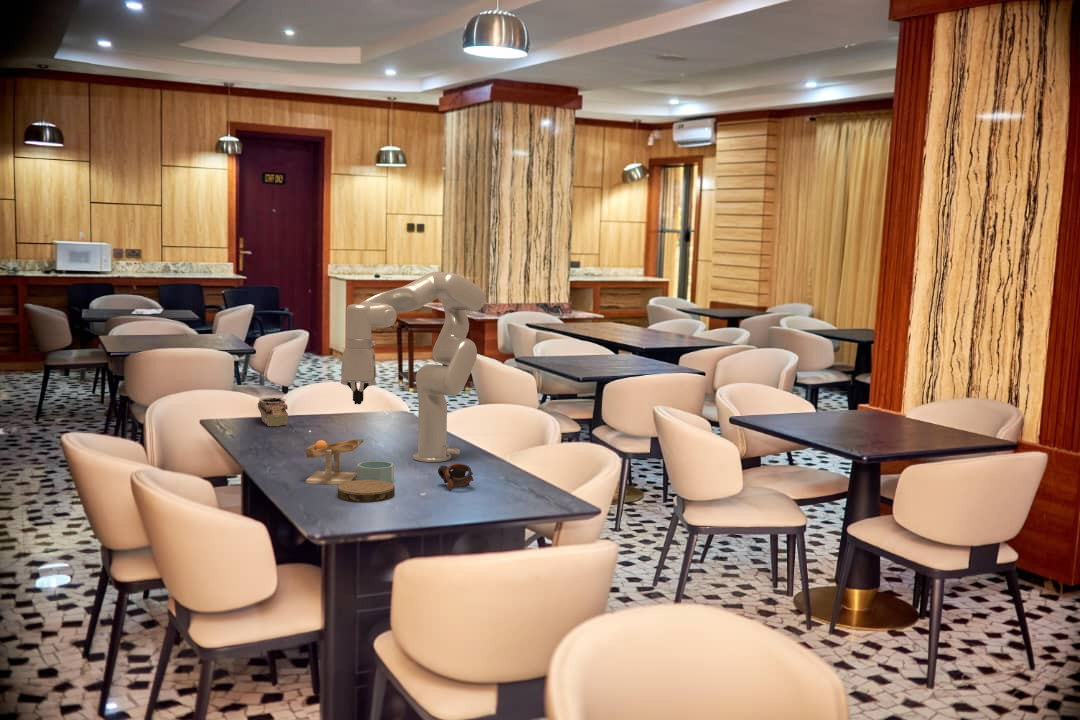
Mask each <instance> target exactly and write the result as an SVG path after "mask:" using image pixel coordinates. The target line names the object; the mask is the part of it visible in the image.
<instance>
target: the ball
mask: <svg viewBox="0 0 1080 720" xmlns="http://www.w3.org/2000/svg"><path fill="white" fill-rule="evenodd" d="M314 444H315V448H316V450H318V449H324V448H327V445H328V443H327V442H326V441H325V440H323V439H320V440H318V441H316V442H315V443H314Z"/></svg>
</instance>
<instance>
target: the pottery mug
mask: <svg viewBox="0 0 1080 720" xmlns="http://www.w3.org/2000/svg"><path fill="white" fill-rule="evenodd" d="M467 472H468V473H467ZM437 473H438V475H439V477H440V478H441V479H442V480H443V482H444V484H446V490H448V491H452V490H453V489H456V488H461V487H465V486H466V485H467V486H470V483H471V482H474V480H475V479H474V478H473V475H474V473H473V471H472V469H471V467H470V466H469V465H468V464H464V463H461V462H459V463H458V462H455V463H453V464H450V465H449V466H446V465H440V466H439V467H438V468H437ZM466 473H467V474H466Z"/></svg>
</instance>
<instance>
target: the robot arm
mask: <svg viewBox="0 0 1080 720" xmlns="http://www.w3.org/2000/svg"><path fill="white" fill-rule="evenodd" d="M438 299H440V301H441V302H440V303H441V305H442V307H443V310H444V317H445V318H444V324H443V325H442V328H441V330H440V333H439V335H438V336H437V340H436V341H435V344H434V345H433V349H432V354H431V355H432V358H433V360H434V361H435V362H437V363H439V364H425V365H423V366H421V367H420V368H419V369H418V370H417V372H416V375H415V385H416V386H415V387H416V390H417V396H418V397H417V399H418V400H417V401H418V402H417V403H418V413H417V414H418V415H417V416H418V421H417V422H418V423H417V425H418V426H417V432H418V433H417V434H418V435H417V452H415V453H413V456H412V458H413V460H415V461H419V462H427V463H438V462H439V463H440V462H447V461H449V460H451V459H452V455H458V456H459V455H460V448H457V447H450V446H449V443H447V440H448V439H447V434H448V431H447V429H448V426H447V425H448V404H447V399H446V397H445V396H448V397H455V396H457V395H459V394H460V393H461V392H462V391H463V389H464V388H465V386H466V385H467V384H466V383H467V382H468V379H469V378H470V375H471V373H472V371H473V369H474V365H475V364H476V361H477V355H478V351H477V346H476V343H475V342H474V341H472V340H471V339H470V338H467V336H468V333H469V329H470V322H469V319H468V316H467V315H468V314H467V312H476V311H479V310H481V309H482V308H483V307H484V305H485V303H486V295H485V291H484V290H483V289H482V288H481V286H479V285H477V284H475V283H474V282H472V281H470V280H468V279H466V278H465V277H463V276H461V275H459V274H457V273H455V272H447V271H445V272H444V271H443V272H442V271H434V272H429V273H427V274H425V275H424V276H423V275H422V276H421V277H419V278H417V279H416V280H414V281H412V282H410V283H408V284H405V285H404V286H401V287H395V288H393V289H391V290H387V291H384V292H380V293H378V294H375V295H372V296H371V297H369V298H367V299H365V300H363V301H361V302H360V303H354V304H353V303H351V304H349V305H347V307H346V325H345V326H346V327H345V328H346V329H345V331H346V333H345V334H346V335H345V337H346V339H345V340H346V341H345V342H346V344H345V346H346V347H345V348H344V349H343V354H342V359H341V369H340V372H341V373H340V377H341V378H340V379H341V380H340V384H341V385H344V386H348V388H349V389H351V391H352V402H354V405H361V404H362V402H364V391H365V390H366V389H367V388H368V387H371V386H375V385H376V384H377V382H376V377H377V367H376V366H377V364H376V363H377V362H376V355H375V349H374V348H372V347H373V346H374V347H375V346H377V345H376V344H377V342H376V340H375V341H374V340H372V328H380V329H382V328H383V329H386V328H390V327H391V326H393V325H395V323H396V320H397V317H398V315H397V313H398V314H399V313H408V312H412V311H417V310H418V309H420V308H422V307H424V306H426V305H427V304H429V303H432V302H434V301H435V300H438ZM441 364H442V365H441ZM445 365H447V366H445ZM357 382H358V383H359V382H360V383H359V388H358V383H357Z"/></svg>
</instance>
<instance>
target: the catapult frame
mask: <svg viewBox="0 0 1080 720" xmlns="http://www.w3.org/2000/svg"><path fill="white" fill-rule="evenodd" d="M332 456H333V457H332ZM324 457H325V460H324V461H325V463H324V464H325V466H324V467H325V470H324V471H322V470H321V471H320V470H316V471H314V473H313V474H311V475H310V476H309V477H308V478H306V479H305V484H312V485H313V484H314V485H315V484H316V485H317V484H319V485H339V484H342V483H344V482H349V481H355V480H357V472H349V471H347V472H345V471H341V469H340V468H341V467H340V466H341V465H340V463H341V460H340V459H341V453H337V454H332V450H325V456H324ZM332 459H333V460H332ZM332 461H333V462H332ZM332 463H333V465H332ZM332 467H333V471H332Z"/></svg>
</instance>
